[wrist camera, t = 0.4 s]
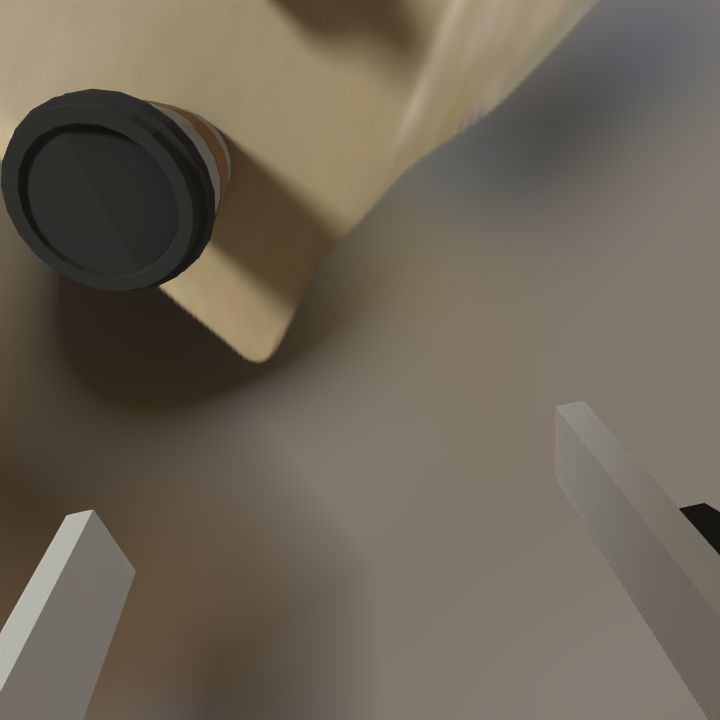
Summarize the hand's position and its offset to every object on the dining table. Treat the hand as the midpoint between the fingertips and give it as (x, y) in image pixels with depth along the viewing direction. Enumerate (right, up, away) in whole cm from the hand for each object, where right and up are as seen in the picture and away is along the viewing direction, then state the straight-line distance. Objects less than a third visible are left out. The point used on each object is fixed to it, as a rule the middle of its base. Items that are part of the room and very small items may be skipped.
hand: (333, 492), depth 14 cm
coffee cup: (-11, +17, +19) cm, 28 cm away
